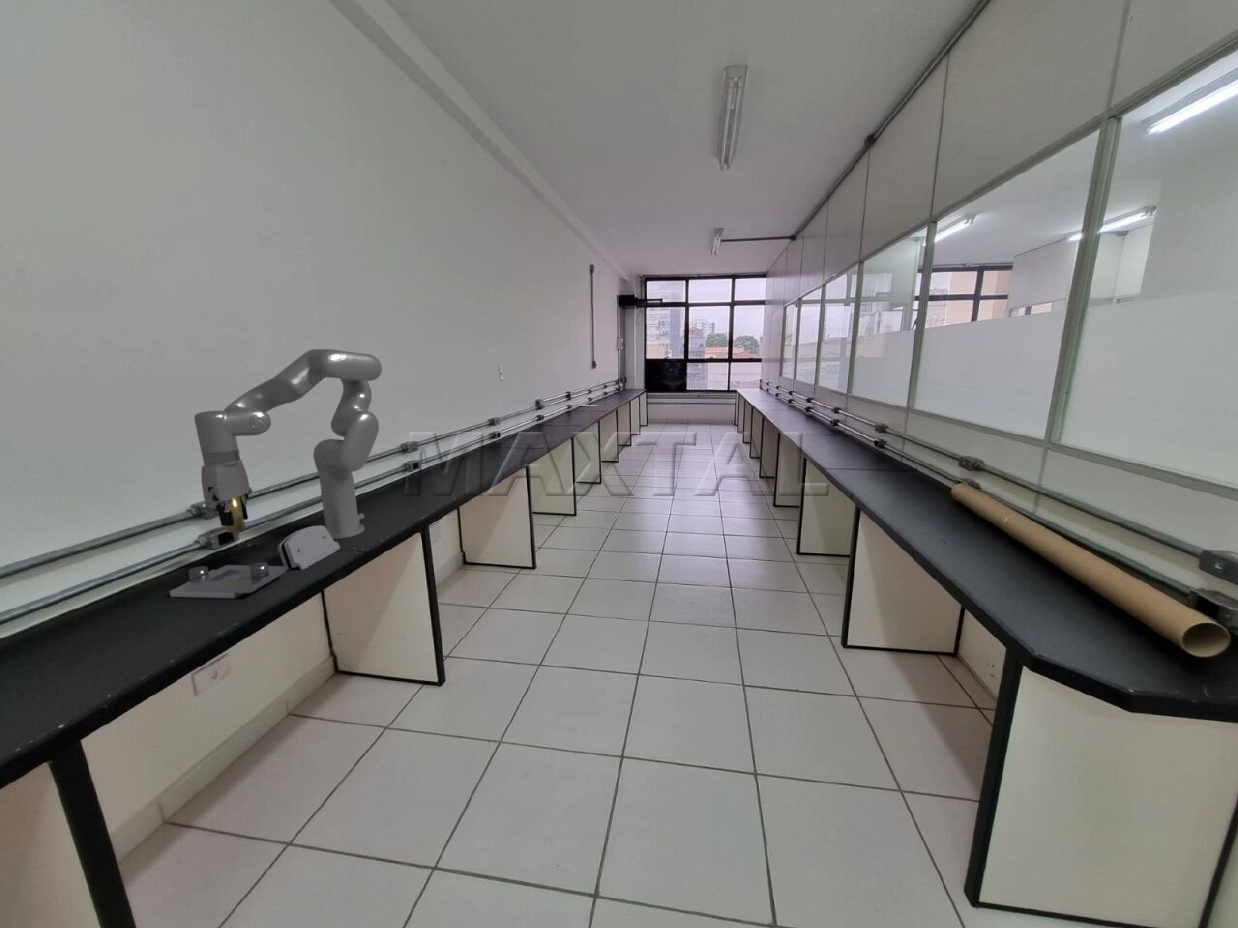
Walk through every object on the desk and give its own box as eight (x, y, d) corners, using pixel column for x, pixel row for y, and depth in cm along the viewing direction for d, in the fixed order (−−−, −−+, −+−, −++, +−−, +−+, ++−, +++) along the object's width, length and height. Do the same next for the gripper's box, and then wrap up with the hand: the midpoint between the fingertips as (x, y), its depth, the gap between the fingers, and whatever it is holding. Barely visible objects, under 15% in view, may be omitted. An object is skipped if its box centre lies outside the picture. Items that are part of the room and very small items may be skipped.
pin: (235, 527, 133) (228, 493, 131) (249, 527, 133) (242, 493, 131) (223, 532, 129) (216, 497, 127) (237, 532, 129) (230, 497, 127)
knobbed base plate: (213, 575, 127) (210, 554, 126) (286, 576, 126) (283, 555, 125) (170, 596, 115) (166, 573, 114) (251, 598, 115) (247, 575, 113)
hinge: (301, 570, 130) (285, 537, 128) (287, 575, 131) (270, 542, 129) (341, 547, 146) (327, 518, 145) (328, 551, 147) (314, 522, 145)
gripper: (233, 451, 135) (246, 512, 139) (178, 465, 118) (194, 533, 123) (259, 451, 134) (271, 512, 139) (207, 465, 118) (222, 534, 122)
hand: (234, 521), depth 131 cm, fingers closed on pin, 4 cm apart
